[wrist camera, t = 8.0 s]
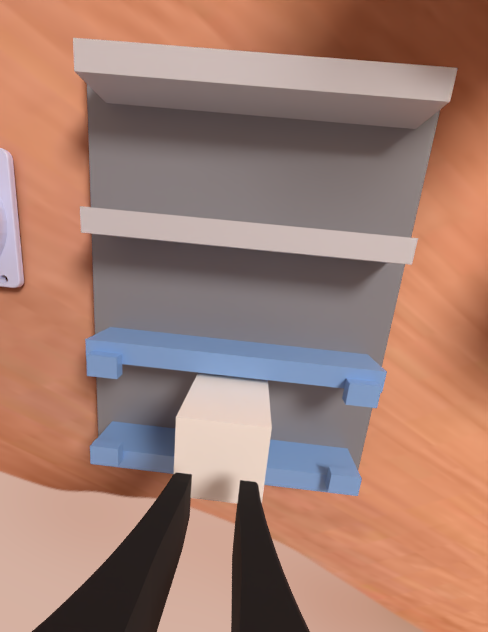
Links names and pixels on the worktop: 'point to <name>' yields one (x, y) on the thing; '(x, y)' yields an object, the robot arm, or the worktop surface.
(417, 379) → the worktop surface
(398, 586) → the worktop surface
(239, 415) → the cream plug
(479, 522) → the worktop surface
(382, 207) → the grey railed board
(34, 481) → the worktop surface
